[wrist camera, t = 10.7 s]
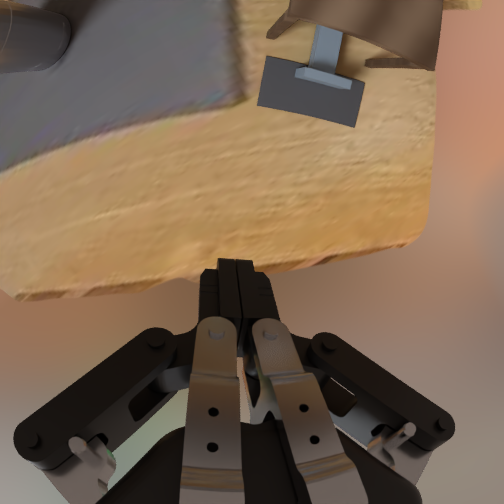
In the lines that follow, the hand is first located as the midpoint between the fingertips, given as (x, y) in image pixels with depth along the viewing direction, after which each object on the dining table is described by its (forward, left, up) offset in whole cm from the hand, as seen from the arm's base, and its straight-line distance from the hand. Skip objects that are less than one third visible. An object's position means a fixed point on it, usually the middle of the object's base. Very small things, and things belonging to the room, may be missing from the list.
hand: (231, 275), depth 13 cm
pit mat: (+10, +9, -28) cm, 31 cm away
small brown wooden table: (+10, +21, -28) cm, 36 cm away
